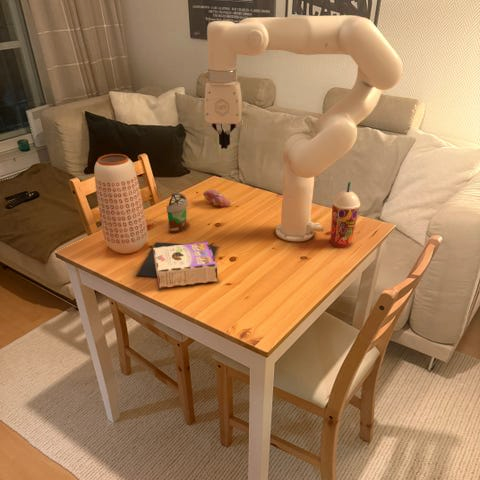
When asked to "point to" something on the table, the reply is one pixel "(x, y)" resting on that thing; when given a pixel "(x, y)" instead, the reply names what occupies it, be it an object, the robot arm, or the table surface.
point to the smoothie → (344, 217)
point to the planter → (120, 204)
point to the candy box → (185, 264)
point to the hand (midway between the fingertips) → (224, 147)
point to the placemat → (149, 264)
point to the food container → (177, 212)
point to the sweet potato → (216, 198)
